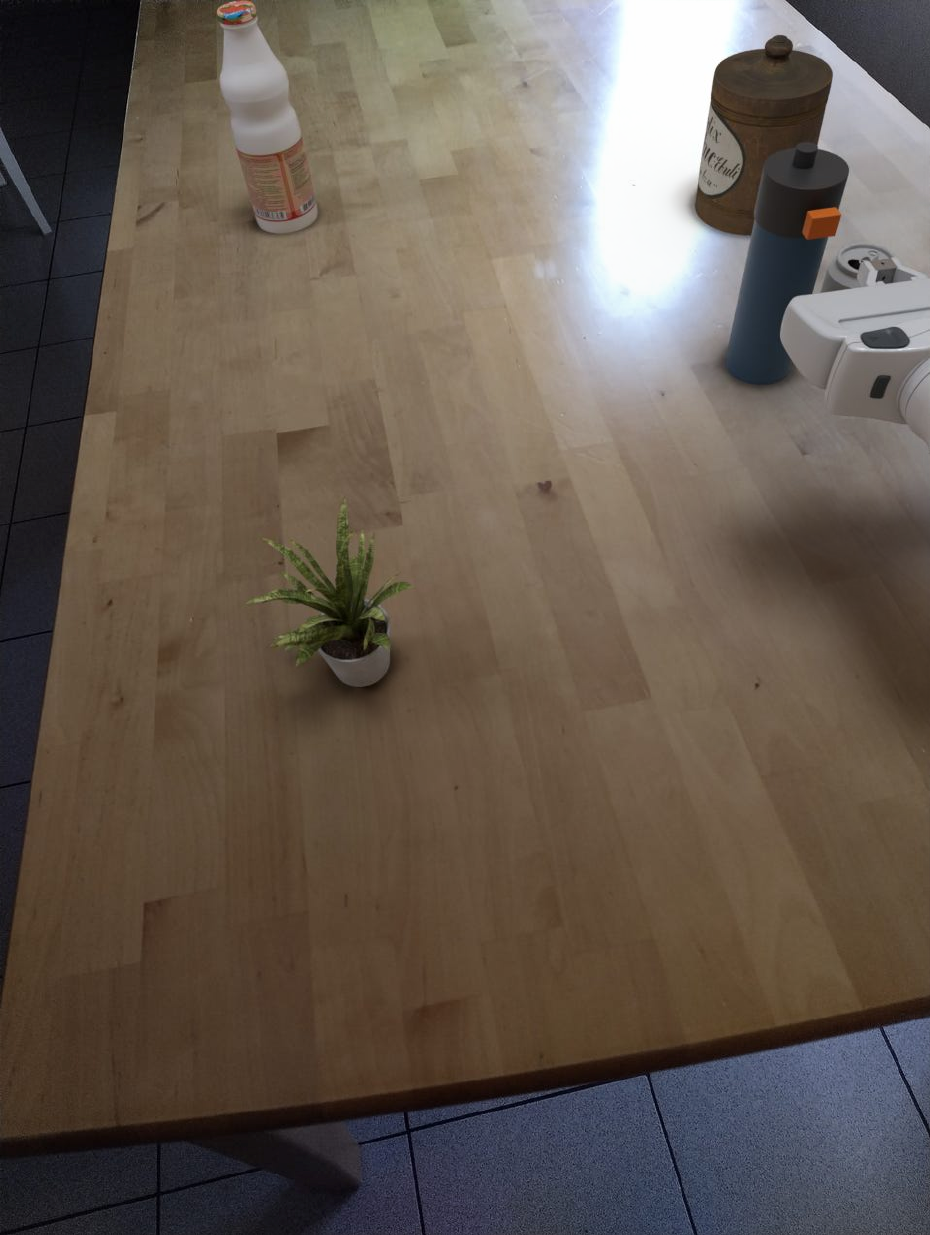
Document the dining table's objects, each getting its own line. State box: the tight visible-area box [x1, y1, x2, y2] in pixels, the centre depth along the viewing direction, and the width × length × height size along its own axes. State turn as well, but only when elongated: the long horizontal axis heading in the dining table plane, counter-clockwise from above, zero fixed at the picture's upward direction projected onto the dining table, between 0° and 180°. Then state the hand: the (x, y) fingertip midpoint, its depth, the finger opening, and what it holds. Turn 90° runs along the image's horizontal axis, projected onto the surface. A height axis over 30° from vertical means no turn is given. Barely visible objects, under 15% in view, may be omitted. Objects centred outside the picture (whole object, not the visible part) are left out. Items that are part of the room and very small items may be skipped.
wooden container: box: [694, 34, 834, 236], centre depth 115 cm, size 15×15×22 cm
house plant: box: [242, 496, 417, 688], centre depth 77 cm, size 14×14×16 cm
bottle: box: [724, 142, 850, 386], centre depth 94 cm, size 8×8×26 cm
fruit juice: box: [216, 0, 319, 234], centre depth 120 cm, size 9×9×28 cm
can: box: [819, 242, 896, 293], centre depth 100 cm, size 8×8×12 cm
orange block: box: [802, 207, 842, 240], centre depth 83 cm, size 1×3×2 cm, turn 97°
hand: (875, 266), depth 75 cm, fingers closed
